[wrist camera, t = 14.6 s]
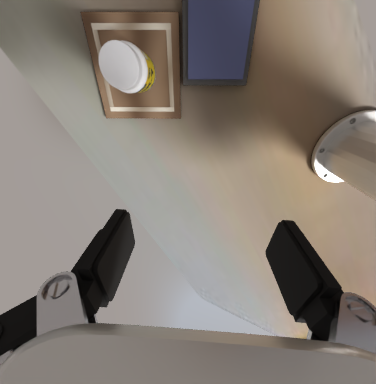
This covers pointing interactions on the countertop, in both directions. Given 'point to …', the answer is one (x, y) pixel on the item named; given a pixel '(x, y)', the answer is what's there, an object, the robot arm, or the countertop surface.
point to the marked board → (152, 46)
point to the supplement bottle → (126, 67)
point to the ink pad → (217, 41)
